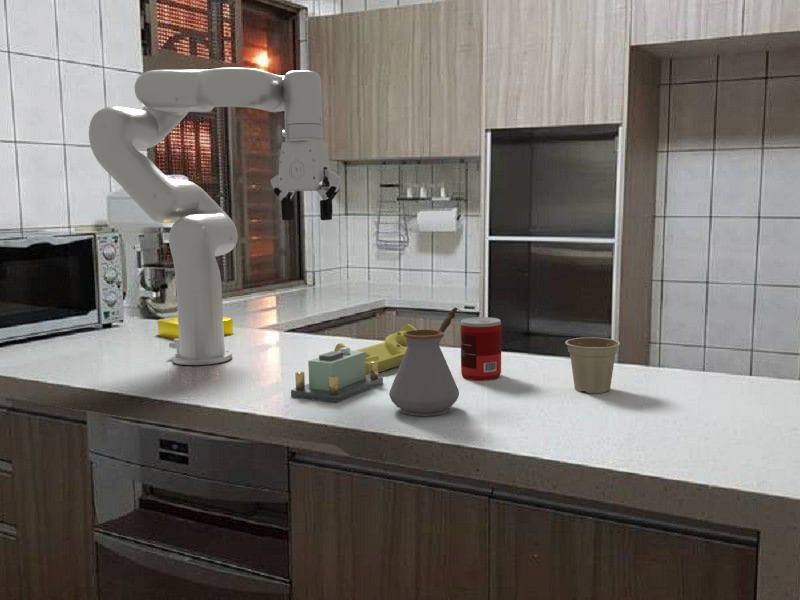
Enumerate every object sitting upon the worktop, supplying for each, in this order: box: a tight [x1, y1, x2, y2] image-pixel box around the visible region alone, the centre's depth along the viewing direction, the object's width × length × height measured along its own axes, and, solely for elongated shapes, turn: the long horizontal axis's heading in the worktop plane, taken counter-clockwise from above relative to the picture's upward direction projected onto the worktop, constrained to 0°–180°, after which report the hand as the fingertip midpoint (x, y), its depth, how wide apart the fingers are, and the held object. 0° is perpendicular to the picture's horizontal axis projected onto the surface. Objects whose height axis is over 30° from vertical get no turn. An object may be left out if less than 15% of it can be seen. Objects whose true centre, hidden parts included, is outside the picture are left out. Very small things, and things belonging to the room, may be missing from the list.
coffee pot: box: [389, 306, 463, 417], centre depth 133 cm, size 21×12×15 cm, turn 155°
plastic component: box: [333, 324, 418, 375], centre depth 164 cm, size 20×7×10 cm
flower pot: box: [565, 336, 621, 394], centre depth 140 cm, size 9×9×9 cm
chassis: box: [290, 361, 384, 404], centre depth 144 cm, size 10×16×4 cm, turn 150°
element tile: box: [157, 316, 234, 340], centre depth 206 cm, size 15×15×5 cm
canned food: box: [460, 316, 502, 382], centre depth 152 cm, size 8×8×11 cm
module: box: [307, 346, 366, 391], centre depth 144 cm, size 5×11×6 cm, turn 150°
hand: (306, 219), depth 161 cm, fingers open, 9 cm apart
